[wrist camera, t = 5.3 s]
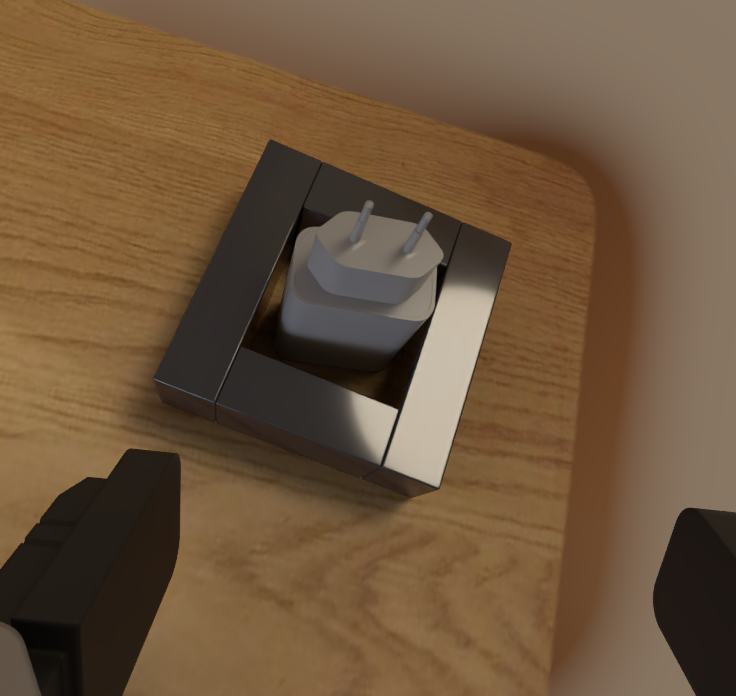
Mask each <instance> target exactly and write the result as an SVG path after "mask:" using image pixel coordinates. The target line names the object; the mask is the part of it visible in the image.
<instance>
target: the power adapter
mask: <svg viewBox="0 0 736 696" xmlns="http://www.w3.org/2000/svg"><path fill="white" fill-rule="evenodd" d="M373 206H374V203H373V202H372V201H370V200H368V201H366V203H365V205H364V207H363V210H362V212H361V213H359V212H352V211H346V212H341V213H339V214H337V215H336V216H334V217H333V218H332V219H330V220H329V221H328V222H326V223H325V224H324V225H322V226H321V227H309V228H306V229H304V230H303V231H302V232H301V233H300V234H299V235H298V237H297V239H296V243H295V247H294V251H293V255H292V259H291V263H290V267H289V271H288V275H287V279H286V283H285V287H284V291H283V295H282V300H281V304H280V308H279V313H278V320H277V327H276V334H275V342H274V345H275V349H276V351H277V353H278V354H279V355H280V356H281V357H283V358H285V359H288V360H292V361H299V362H306V363H313V364H320V365H326V366H333V367H340V368H347V369H354V370H360V371H367V372H377V371H380V370H382V369H383V368H384V367H385V366H386V365H387V364H388V363H389V362H390V361H391V359H392V358H393V357H394V356H395V355H396V354H397V353H398V351H399V350H400V349H401V348H402V347H403V346H404V345H405V344H406V342H407V341H408V340H409V339H410V338H411V337H412V336H413V334H414V333H415V332H416V331H417V330H418V329H419V328H420V326H421V325H422V324H423V323H424V322H425V321H426V320H427V319H428V317H429V316H430V315H431V314H432V312H433V310H434V307H435V295H436V278H437V266H438V264H439V263H440V262H441V260H442V259H443V251H442V250H441V248H440V247H439V246H438V244H437V243H436V242H435V240H434V239H433V238H432V236H431V235H430V234H429V232H428V231H427V230H426V229H425V228H426V227H427V225H428V223H429V222H430V220H431V219H432V217H433V215H432V213H430V212H425V214H424V215H423V217H422V219H421V220H420V222H419V224H415V223H412V222H406V221H401V220H396V219H391V218H385V217H380V216H375V215H370V213H371V211H372V208H373Z"/></svg>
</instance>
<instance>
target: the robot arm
mask: <svg viewBox="0 0 736 696" xmlns="http://www.w3.org/2000/svg"><path fill="white" fill-rule="evenodd" d="M180 487H181V462H180V457H179V455H178V454H177V453H170V452H160V451H151V450H141V449H131V448H130V449H128V450H127V451H126V452H125V453H124V455H123V456H122V458H121V459H120V460H119V462H118V463H117V465H116V466H115V468H114V469H113V471H112V472H111V473H110V475H109V476H108V478H107V479H103V478H93V477H87V478H86V479H84V480H82V481H81V482H79V483H77V484H76V485H74V486H73V487H71V488H69V489H68V490H66V491H65V492H63V493H61V494H60V495H58V497H57V498H56V499H55V501H54V502H53V503H52V504H51V506H50V507H49V508H48V509H47V511H46V512H45V513H44V515H43V516H42V517H41V518H40V523H36V525H35V526H34V527H33V529H32V530H31V531H30V532H29V534H28V535H27V536H26V537H25V541H24V543H21V544H20V545H19V546H18V548H17V549H16V550H15V551H14V553H13V554H12V555H11V557H10V558H9V559H8V560H7V562H6V563H5V564H4V565H3V567H2V568H1V569H0V696H122V695H123V692H124V690H125V687H126V685H127V683H128V680H129V678H130V675H131V673H132V671H133V668H134V666H135V663H136V661H137V659H138V656H139V654H140V651H141V649H142V647H143V644H144V642H145V639H146V637H147V635H148V632H149V630H150V628H151V625H152V623H153V620H154V618H155V616H156V613H157V611H158V608H159V606H160V604H161V601H162V599H163V596H164V594H165V592H166V589H167V587H168V584H169V582H170V580H171V577H172V574H173V571H174V568H175V564H176V560H177V555H178V548H179V540H180ZM653 606H654V613H655V617H656V621H657V623H658V626H659V628H660V630H661V631H662V633H663V635H664V637H665V639H666V641H667V642H668V645H669V646H670V648H671V650H672V652H673V654H674V656H675V657H676V659H677V661H678V663H679V665H680V667H681V669H682V670H683V672H684V674H685V676H686V678H687V680H688V682H689V683H690V685H691V687H692V689H693V691H694V693H695V695H696V696H736V513H735V512H727V511H717V510H706V509H698V508H686V509H684V510H683V511H682V512H681V513H680V515H679V516H678V518H677V521H676V524H675V527H674V529H673V532H672V535H671V538H670V541H669V544H668V547H667V550H666V553H665V556H664V559H663V562H662V564H661V567H660V570H659V573H658V576H657V579H656V582H655V586H654V592H653Z"/></svg>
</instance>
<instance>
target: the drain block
mask: <svg viewBox="0 0 736 696" xmlns="http://www.w3.org/2000/svg"><path fill="white" fill-rule="evenodd" d="M368 200H370V201H372V202H373V203H374V206H373V208H372V211H371V213H370V215H375V216H380V217H385V218H391V219H396V220H401V221H406V222H412V223H415V224H419V222H420V220H421V219H422V217H423V215H424V214H425V212H430V213H432V215H433V217H432V219H431V220H430V222H429V223H428V225H427V227H426V228H425V229H426V230H427V231H428V232H429V234H430V235H431V236H432V238H433V239H434V240H435V242H436V243H437V244H438V246H439V247H440V248H441V250H442V251H443V259H442V260H441V262H440V263H439V264H438V266H437V278H436V295H435V307H434V310H433V312H432V314H431V315H430V316H429V317H428V319H427V320H426V321H425V322H424V323H423V324H422V325H421V326H420V328H419V329H418V330H417V331H416V332H415V333H414V334H413V336H412V337H411V338H410V339H409V340H408V341H407V344H406V347H405V350H404V353H403V356H402V359H401V362H400V365H399V368H398V371H397V374H396V377H395V379H394V382H393V385H392V388H391V391H390V394H389V397H388V400H387V403H383V402H380V401H378V400H375V399H373V398H370V397H368V396H365V395H363V394H360V393H358V392H355V391H353V390H350V389H348V388H345V387H343V386H340V385H338V384H335V383H333V382H330V381H328V380H325V379H323V378H320V377H317V376H315V375H312V374H310V373H307V372H305V371H302V370H300V369H297V368H295V367H292V366H290V365H287V364H285V363H282V362H280V361H277V360H275V359H272V358H270V357H267V356H265V355H262V354H260V353H257V352H254V351H252V350H249V349H248V348H249V346H250V344H251V341H252V339H253V337H254V334H255V332H256V330H257V328H258V325H259V323H260V321H261V318H262V316H263V314H264V312H265V309H266V307H267V305H268V302H269V300H270V298H271V296H272V293H273V291H274V289H275V286H276V284H277V282H278V280H279V277H280V275H281V273H282V270H283V268H284V266H285V264H286V261H287V259H288V257H289V255H290V252H291V250H292V248H293V245H294V247H295V243H296V239H297V237H298V235H299V234H300V233H301V232H302V231H303V230H304V229H306V228H309V227H321V226H322V225H324V224H325V223H326V222H328V221H329V220H330V219H332V218H333V217H334V216H336V215H337V214H339V213H341V212H346V211H352V212H359V213H361V212H362V210H363V207H364V205H365V203H366V201H368ZM511 245H512V244H511V242H508V241H506V240H504V239H501V238H499V237H497V236H494V235H492V234H490V233H487V232H485V231H483V230H480V229H478V228H476V227H473V226H471V225H469V224H467V223H464V222H463V223H462V222H461V221H460V220H457V219H455V218H453V217H450V216H448V215H446V214H443V213H441V212H439V211H436V210H434V209H432V208H429V207H427V206H425V205H422V204H420V203H418V202H415V201H413V200H411V199H408V198H406V197H404V196H401V195H399V194H397V193H394V192H392V191H390V190H387V189H385V188H383V187H380V186H378V185H376V184H373V183H371V182H369V181H366V180H364V179H362V178H359V177H357V176H355V175H352V174H350V173H348V172H345V171H343V170H341V169H338V168H336V167H334V166H332V165H329V164H327V163H325V162H323V163H322V162H321V161H320V160H318V159H315V158H313V157H311V156H308V155H306V154H304V153H301V152H299V151H297V150H294V149H292V148H290V147H287V146H285V145H283V144H280V143H278V142H276V141H273V140H269V141H268V144H267V146H266V148H265V150H264V152H263V154H262V156H261V158H260V160H259V162H258V164H257V166H256V168H255V170H254V172H253V174H252V176H251V178H250V180H249V182H248V185H247V187H246V189H245V191H244V193H243V195H242V197H241V199H240V201H239V203H238V205H237V207H236V209H235V211H234V213H233V215H232V217H231V219H230V221H229V223H228V226H227V228H226V230H225V232H224V234H223V236H222V238H221V240H220V242H219V244H218V246H217V248H216V250H215V252H214V254H213V256H212V258H211V260H210V262H209V264H208V267H207V269H206V271H205V273H204V275H203V277H202V279H201V281H200V283H199V285H198V287H197V289H196V291H195V293H194V295H193V297H192V299H191V301H190V303H189V305H188V308H187V310H186V312H185V314H184V316H183V318H182V320H181V322H180V324H179V326H178V328H177V330H176V332H175V334H174V336H173V338H172V340H171V342H170V344H169V346H168V349H167V351H166V353H165V355H164V357H163V359H162V361H161V363H160V365H159V367H158V369H157V371H156V373H155V375H154V377H153V380H154V383H155V385H156V388H157V391H158V394H159V396H160V399H161V402H162V403H164V404H167V405H169V406H172V407H175V408H177V409H180V410H182V411H185V412H188V413H190V414H193V415H195V416H198V417H201V418H203V419H206V420H208V421H211V422H214V423H215V422H216V423H217V424H219V425H221V426H224V427H227V428H229V429H232V430H234V431H237V432H240V433H242V434H245V435H247V436H250V437H253V438H255V439H258V440H260V441H263V442H266V443H268V444H271V445H273V446H276V447H279V448H281V449H284V450H287V451H289V452H292V453H294V454H297V455H300V456H302V457H305V458H307V459H310V460H313V461H315V462H318V463H320V464H323V465H326V466H328V467H331V468H333V469H336V470H339V471H341V472H344V473H346V474H349V475H352V476H354V477H357V478H361V479H362V480H365V481H367V482H370V483H373V484H375V485H378V486H380V487H383V488H386V489H388V490H391V491H393V492H396V493H399V494H401V495H404V496H406V497H409V498H414V497H417V496H420V495H423V494H427V493H430V492H433V491H436V490H439V489H440V486H441V483H442V479H443V476H444V473H445V469H446V466H447V462H448V459H449V456H450V452H451V449H452V445H453V442H454V439H455V435H456V432H457V428H458V425H459V422H460V418H461V415H462V411H463V408H464V405H465V401H466V398H467V394H468V391H469V388H470V384H471V381H472V377H473V374H474V371H475V367H476V364H477V360H478V357H479V354H480V350H481V347H482V343H483V340H484V337H485V333H486V330H487V326H488V323H489V320H490V316H491V313H492V309H493V306H494V303H495V299H496V296H497V292H498V289H499V286H500V282H501V279H502V275H503V272H504V269H505V265H506V262H507V259H508V255H509V252H510V248H511Z"/></svg>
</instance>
